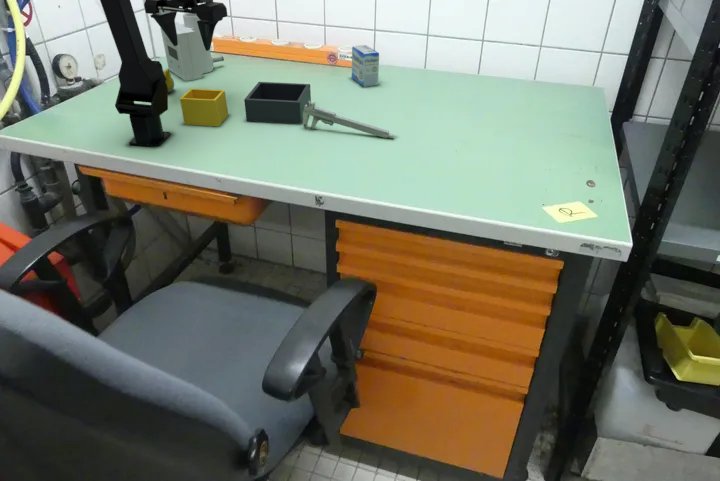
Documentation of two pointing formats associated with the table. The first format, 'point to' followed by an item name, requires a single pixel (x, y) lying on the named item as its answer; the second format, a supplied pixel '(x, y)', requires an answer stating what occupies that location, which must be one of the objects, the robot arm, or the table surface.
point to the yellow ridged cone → (169, 81)
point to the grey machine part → (188, 50)
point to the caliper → (339, 121)
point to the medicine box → (365, 65)
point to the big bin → (277, 102)
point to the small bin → (204, 107)
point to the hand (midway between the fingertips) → (191, 47)
